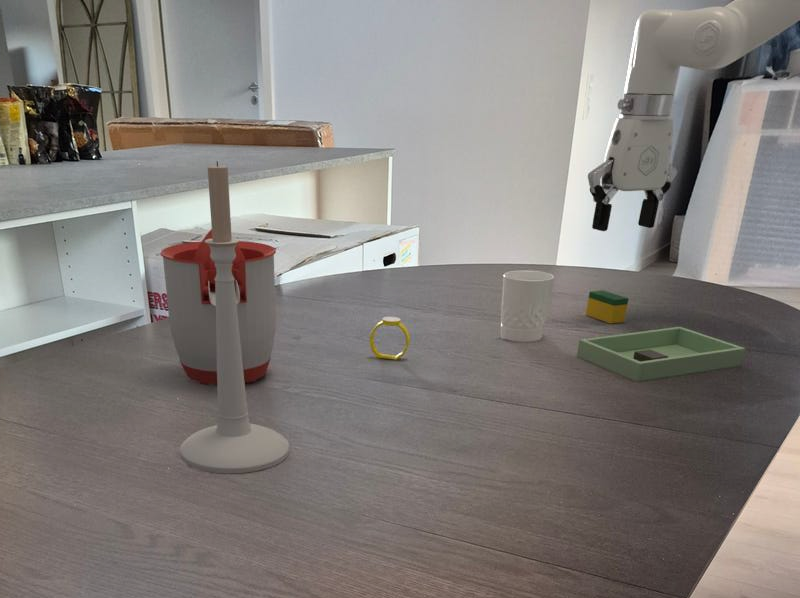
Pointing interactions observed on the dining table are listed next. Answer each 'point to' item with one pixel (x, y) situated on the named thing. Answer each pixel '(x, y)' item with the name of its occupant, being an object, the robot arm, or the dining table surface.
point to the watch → (390, 322)
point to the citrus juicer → (197, 306)
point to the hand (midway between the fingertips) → (622, 228)
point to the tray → (677, 343)
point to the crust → (648, 355)
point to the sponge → (607, 306)
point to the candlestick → (229, 365)
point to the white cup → (525, 304)
